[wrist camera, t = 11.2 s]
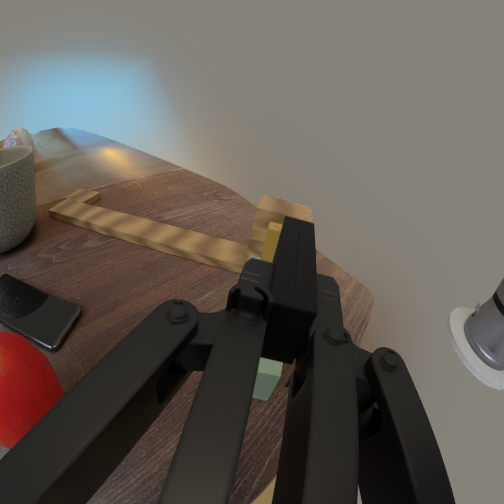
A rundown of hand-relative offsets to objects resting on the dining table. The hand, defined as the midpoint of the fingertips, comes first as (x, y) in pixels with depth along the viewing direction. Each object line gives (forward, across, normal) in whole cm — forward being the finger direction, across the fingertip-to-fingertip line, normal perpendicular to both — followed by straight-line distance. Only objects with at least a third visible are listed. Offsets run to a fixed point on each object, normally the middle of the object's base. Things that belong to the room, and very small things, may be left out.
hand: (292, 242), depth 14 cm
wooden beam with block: (+26, -21, -19) cm, 38 cm away
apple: (-11, -16, -19) cm, 27 cm away
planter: (+10, -47, -18) cm, 52 cm away
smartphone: (0, -28, -18) cm, 34 cm away
